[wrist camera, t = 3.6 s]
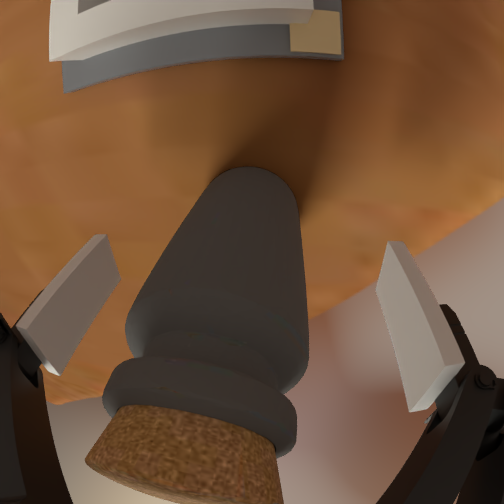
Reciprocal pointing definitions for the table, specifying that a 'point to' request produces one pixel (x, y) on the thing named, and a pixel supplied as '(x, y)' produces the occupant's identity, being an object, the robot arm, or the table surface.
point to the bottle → (213, 352)
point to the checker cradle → (185, 34)
